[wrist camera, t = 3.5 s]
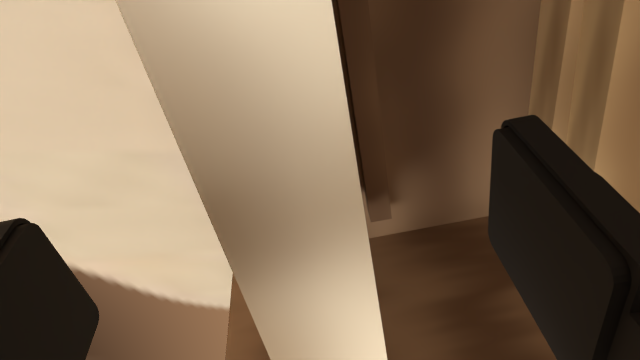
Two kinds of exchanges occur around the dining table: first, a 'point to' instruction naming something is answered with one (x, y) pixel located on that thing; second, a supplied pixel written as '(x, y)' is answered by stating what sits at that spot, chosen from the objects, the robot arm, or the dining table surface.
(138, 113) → the dining table surface
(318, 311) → the birch panel
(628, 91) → the offcut upper
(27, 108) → the dining table surface
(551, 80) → the offcut lower
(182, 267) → the dining table surface
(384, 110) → the rack
